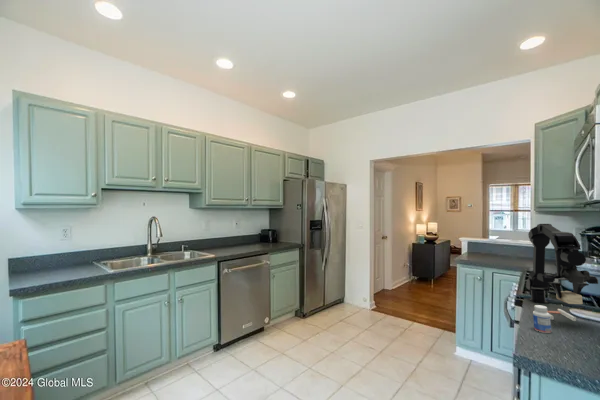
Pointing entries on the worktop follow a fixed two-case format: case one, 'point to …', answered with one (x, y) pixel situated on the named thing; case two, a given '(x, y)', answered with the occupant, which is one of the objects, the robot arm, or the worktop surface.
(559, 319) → the worktop surface
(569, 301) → the birch block
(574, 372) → the worktop surface
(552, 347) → the worktop surface
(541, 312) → the pill bottle
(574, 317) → the channel
